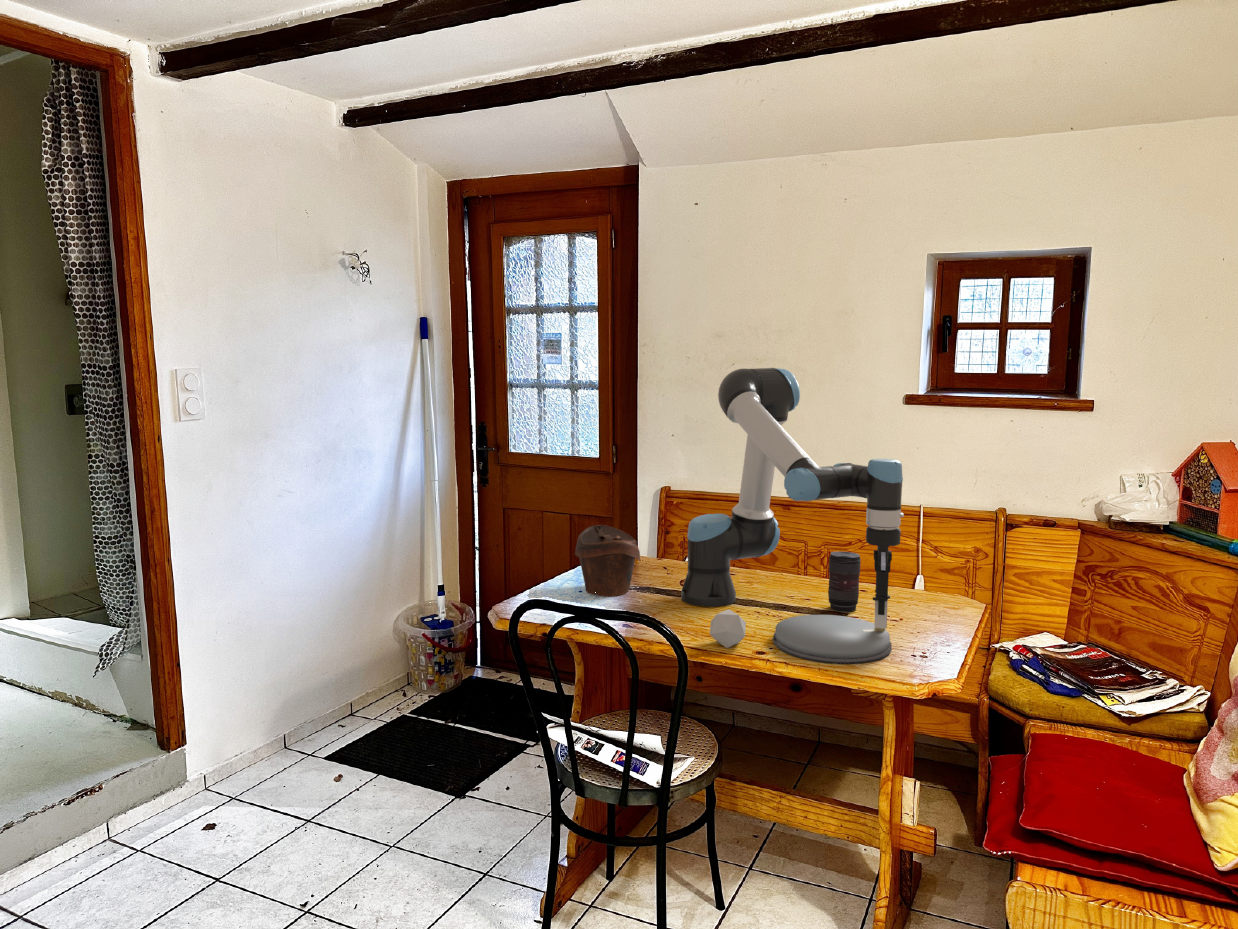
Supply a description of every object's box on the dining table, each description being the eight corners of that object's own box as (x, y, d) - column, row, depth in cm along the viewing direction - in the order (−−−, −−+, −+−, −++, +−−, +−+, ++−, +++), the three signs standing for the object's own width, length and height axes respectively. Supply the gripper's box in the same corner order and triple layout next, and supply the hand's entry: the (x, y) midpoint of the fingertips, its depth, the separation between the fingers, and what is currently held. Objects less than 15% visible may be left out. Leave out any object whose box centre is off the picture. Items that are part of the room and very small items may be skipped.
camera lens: (860, 614, 224) (861, 558, 222) (828, 612, 226) (829, 556, 224) (857, 605, 232) (859, 551, 230) (827, 603, 233) (828, 550, 232)
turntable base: (753, 648, 197) (753, 644, 197) (800, 619, 219) (800, 615, 219) (868, 673, 182) (868, 668, 182) (906, 639, 204) (906, 635, 204)
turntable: (791, 660, 187) (791, 624, 186) (764, 623, 213) (765, 592, 212) (907, 657, 188) (908, 622, 187) (866, 621, 214) (867, 590, 213)
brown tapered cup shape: (621, 604, 234) (621, 539, 231) (562, 593, 244) (561, 532, 242) (653, 588, 249) (653, 528, 246) (596, 579, 259) (595, 521, 257)
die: (724, 638, 207) (702, 610, 204) (754, 625, 204) (733, 596, 201) (722, 660, 200) (699, 632, 197) (753, 647, 196) (731, 618, 194)
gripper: (902, 532, 188) (898, 636, 190) (899, 522, 200) (896, 620, 203) (866, 531, 190) (863, 634, 192) (866, 521, 202) (863, 618, 205)
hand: (880, 627), depth 197 cm, fingers closed
